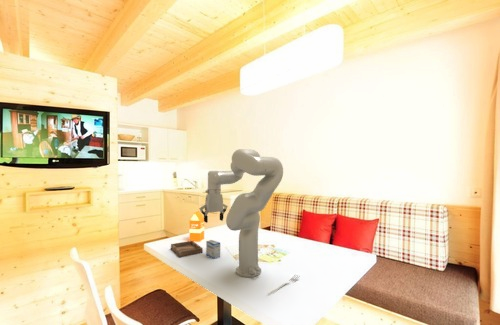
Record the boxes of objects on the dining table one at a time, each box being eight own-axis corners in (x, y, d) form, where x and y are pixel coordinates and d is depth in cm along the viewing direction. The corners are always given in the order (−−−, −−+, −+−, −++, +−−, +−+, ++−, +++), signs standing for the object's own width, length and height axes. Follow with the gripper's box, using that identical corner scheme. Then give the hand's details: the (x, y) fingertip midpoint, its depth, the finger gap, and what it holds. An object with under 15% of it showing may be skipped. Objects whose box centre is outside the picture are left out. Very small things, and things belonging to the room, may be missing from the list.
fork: (260, 297, 103) (260, 292, 103) (294, 277, 120) (294, 274, 120) (266, 299, 101) (266, 295, 101) (300, 279, 118) (300, 276, 118)
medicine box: (206, 256, 148) (205, 241, 148) (212, 254, 151) (211, 239, 152) (214, 259, 143) (214, 244, 143) (220, 257, 146) (220, 242, 146)
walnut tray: (202, 253, 153) (202, 248, 153) (179, 257, 146) (179, 252, 146) (192, 245, 168) (192, 240, 168) (171, 248, 161) (171, 244, 161)
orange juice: (204, 238, 184) (204, 210, 184) (199, 241, 176) (199, 212, 176) (194, 237, 186) (194, 210, 186) (189, 241, 177) (189, 212, 177)
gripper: (202, 193, 140) (202, 224, 140) (230, 192, 149) (229, 220, 149) (197, 192, 146) (197, 221, 146) (224, 190, 155) (224, 218, 156)
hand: (213, 221), depth 148 cm, fingers open, 9 cm apart
